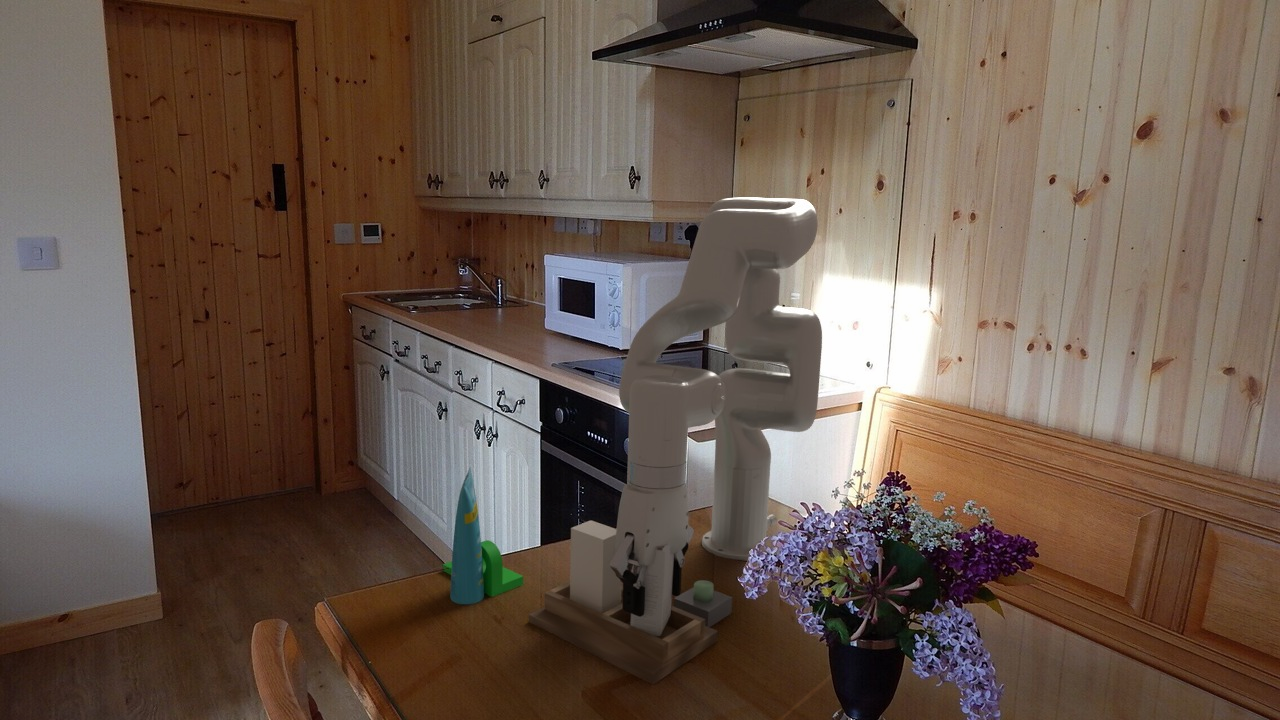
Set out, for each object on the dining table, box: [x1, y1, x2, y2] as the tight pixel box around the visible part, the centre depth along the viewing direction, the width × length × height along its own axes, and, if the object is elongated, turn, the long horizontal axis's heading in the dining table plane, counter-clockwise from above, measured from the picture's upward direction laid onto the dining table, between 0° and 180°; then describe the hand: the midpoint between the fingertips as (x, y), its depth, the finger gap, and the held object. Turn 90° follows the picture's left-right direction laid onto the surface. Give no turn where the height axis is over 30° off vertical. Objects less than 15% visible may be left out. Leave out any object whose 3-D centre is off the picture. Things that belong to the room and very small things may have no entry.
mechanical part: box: [442, 539, 524, 598], centre depth 127 cm, size 12×6×8 cm, turn 49°
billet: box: [569, 519, 623, 613], centre depth 115 cm, size 4×6×12 cm, turn 51°
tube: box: [449, 466, 485, 605], centre depth 119 cm, size 7×5×19 cm, turn 11°
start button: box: [693, 579, 714, 602], centre depth 119 cm, size 3×3×2 cm
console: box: [673, 586, 733, 628], centre depth 119 cm, size 6×6×2 cm
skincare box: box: [630, 544, 674, 636], centre depth 108 cm, size 6×4×12 cm
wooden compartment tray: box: [528, 580, 719, 685], centre depth 113 cm, size 14×22×4 cm, turn 51°
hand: (652, 601), depth 109 cm, fingers closed on skincare box, 7 cm apart
